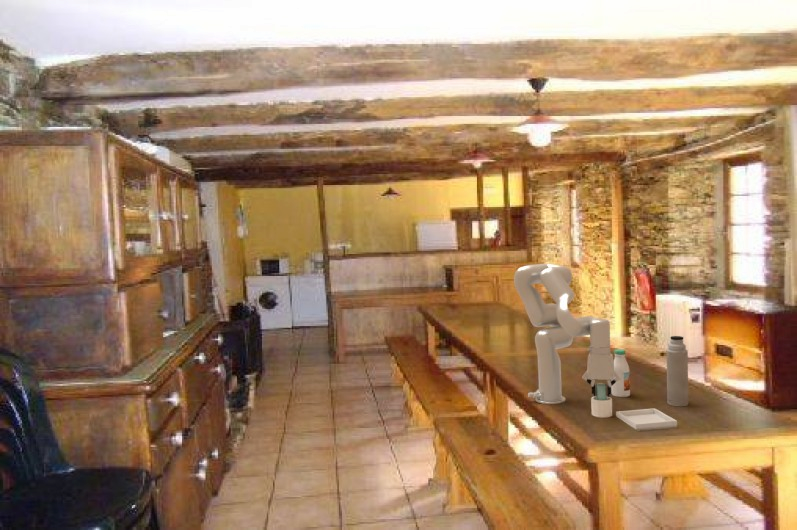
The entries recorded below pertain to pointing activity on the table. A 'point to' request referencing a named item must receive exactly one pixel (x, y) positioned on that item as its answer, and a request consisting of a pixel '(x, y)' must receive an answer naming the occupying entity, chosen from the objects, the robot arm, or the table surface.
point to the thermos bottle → (677, 372)
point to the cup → (601, 407)
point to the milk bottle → (621, 375)
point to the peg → (601, 391)
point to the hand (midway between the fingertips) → (601, 395)
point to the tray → (647, 419)
